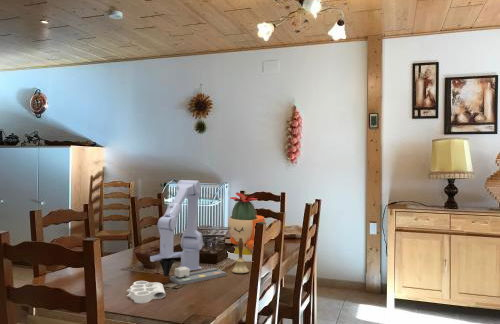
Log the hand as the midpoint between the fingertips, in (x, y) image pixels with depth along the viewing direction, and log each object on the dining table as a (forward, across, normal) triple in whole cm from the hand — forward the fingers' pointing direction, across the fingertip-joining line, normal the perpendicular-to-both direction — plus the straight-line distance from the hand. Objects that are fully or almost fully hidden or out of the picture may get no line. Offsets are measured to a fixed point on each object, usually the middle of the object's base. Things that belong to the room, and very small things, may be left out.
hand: (166, 275), depth 178 cm
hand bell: (+3, +37, -5) cm, 37 cm away
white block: (+1, +8, -1) cm, 8 cm away
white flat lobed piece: (+4, -13, -8) cm, 16 cm away
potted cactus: (+4, +58, +18) cm, 61 cm away
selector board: (+3, +16, -1) cm, 16 cm away
